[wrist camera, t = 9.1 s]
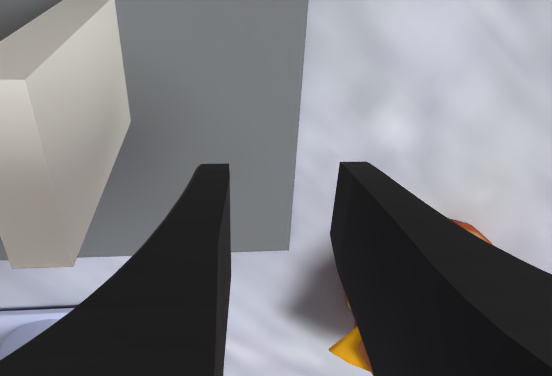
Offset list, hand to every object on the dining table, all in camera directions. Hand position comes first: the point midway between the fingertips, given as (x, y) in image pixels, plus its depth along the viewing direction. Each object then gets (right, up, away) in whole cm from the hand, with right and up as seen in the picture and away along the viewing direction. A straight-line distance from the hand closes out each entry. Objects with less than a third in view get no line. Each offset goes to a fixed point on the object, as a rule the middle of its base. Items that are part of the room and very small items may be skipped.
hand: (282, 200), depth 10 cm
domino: (-7, +5, +7) cm, 11 cm away
